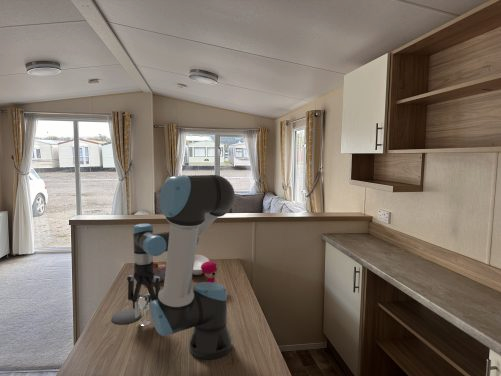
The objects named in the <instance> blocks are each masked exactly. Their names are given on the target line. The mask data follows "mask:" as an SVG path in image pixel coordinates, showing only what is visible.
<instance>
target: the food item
mask: <svg viewBox="0 0 501 376" xmlns="http://www.w3.org/2000/svg"><path fill="white" fill-rule="evenodd" d="M165 271H166V264H158V263H155V262H153V273H154V275H155V276H157V277H159V276H160V277H161V279H160V282H164V280H165ZM152 283H153V284H155V282H154V279H153V280H152Z"/></svg>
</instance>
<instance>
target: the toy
mask: <svg viewBox="0 0 501 376" xmlns="http://www.w3.org/2000/svg"><path fill="white" fill-rule="evenodd" d="M201 269H202V274H204V276H205V277H206V278H207V280H206V282H212V283H215V281H216V278H215V276H216V275H217V271H218V267H217V263H216V262H214V261H210V260H209V261H208V262H205V263H203V264H202V265H201Z"/></svg>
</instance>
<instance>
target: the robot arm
mask: <svg viewBox="0 0 501 376" xmlns="http://www.w3.org/2000/svg"><path fill="white" fill-rule="evenodd" d="M234 189H235V188H234V187H233V185H232V184H231V182H230V181H229V180H228V179H227V178H225V177H224V176H221V175H217V174H207V175H206V174H205V175H204V174H201V175H200V174H199V175H198V174H197V175H190V174H189V175H186V174H181V175H175V176H170V177H168V178H167V179H166V180H165V181H164V183H163V184H162V187H161V189H160V190H161V191H160V195H159V203H160V206H159V207H160V211H161V213H162V214H163V216H165V220H166V221H167V222H168V223H169V224H170V225H169V231H164V232H154V227H153V225H152V224H150V223H138V224H135V225H134V226H133V233H132V235H133V238H132V239H133V262H134V264H133V272H134V273H133V274H130V275H128V276H127V278H126V280H127V300H128V301H132V310H135V318H137V317H138V316H139V315H140V312H141V310H139V309H138V306H137V300H138V296H139V295H140V291H141V288H142V285H144V286H145V287H146V288H147V291H148V292H147V293H149V295H150V298H151V301H152V302H151V303H150V309H149V318H150V320H152V323H153V326H154V329H155V331H156V332H157V334H158V335H160V336H162V337H164V336H170V335H174V334H177V333H179V332H182V331H186V330H188V329H191V328H193V329H192V333H191V336H190V340H189V344H188V347H189V352H190V354H191V355H193V357H195V358H198V359H203V360H214V359H215V360H216V359H219V358H222V357H224V356H226V355H227V354H228V353H230V351H231V349H232V338H231V334H230V331H229V329H228V327H227V323H228V322H227V315H228V314H227V307H228V306H227V304H228V303H227V301H228V296H227V295H228V294H227V290H226V288H225V286H223V285H222V284H219V283H217V282H214V283H212V282H207V281H202V282H196V283H195V284H194V286H193V289H192V287H191V286H192V280H193V275H194V274H193V266H194V259H195V255H196V249H197V246H198V244H199V240H200V236H201V235H202V234H203V233H204V232H206V230H207V229H208V228H209V227H210V226H211V225H212V224H213V223H214V222H215V220H217V219H218V218H220V217H224V216H225V215H226V214H227V213H228V212H229V211H230V210H231V209H232V207H233V206H234V203H235V199H236V193H235V190H234ZM164 253H166V261H165V262H166V263H165V265H166V271H165V280H164V281H163V282H164V283H163V287H162V288H161V281H160V279H161V277H160V276H159V277H157V276H155V275H154V273H153V263H154V262H153V261H154V257H159V256H161V255H162V254H164ZM153 279H154V282H155V283H153V282H152V280H153ZM135 281H136V283H135ZM153 284H154V286H153Z"/></svg>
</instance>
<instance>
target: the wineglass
mask: <svg viewBox="0 0 501 376" xmlns="http://www.w3.org/2000/svg"><path fill="white" fill-rule="evenodd" d="M151 302H152V301H151V298H150V295H149V292H143V293H139V295H138V299H137V306H138V309H139V310H140V311H141V312H143V317H144V318H143V320H142V321H139V325H140V326H143V327H146V326H149V325H150V324H151V321H150V320H148V319H146V314H147V311H148V310H150V303H151Z"/></svg>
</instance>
